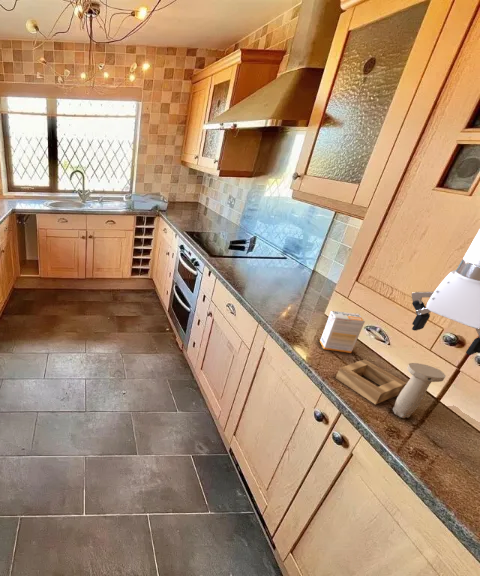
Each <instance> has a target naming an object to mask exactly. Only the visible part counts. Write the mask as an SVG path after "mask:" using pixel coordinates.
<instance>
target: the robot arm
mask: <svg viewBox="0 0 480 576" xmlns="http://www.w3.org/2000/svg"><path fill="white" fill-rule="evenodd" d="M423 298H429V299H428V301H427V303H426V304H424V301H423ZM411 301H412V303H411V304H412V307H413V308H414V310H415V314H416V316H415V318H414V319H413V321H412V323H411V325H413V326H412V328H411V330H412V331H415V332H417V331H420V330H423V329H424V328H425V326H426V323H427V322H428V321H429V319H430V317H431V314H430V313H433V314H436V315H438V316H440V317H442V318H445V319H449V320H451V321H453V322H455V323H459V324H462V325H463V326H466V327H469V328H472V329H475V331H476V333H477V335H478V337H475V338H474V339H473V341H472V342H471V343H470V345H469V346H468V348H467V350H466V352H465V353H466V354H467V355H469V356H471V355H474V354H476V353H477V354H480V228H479V229H478V231H477V233H476V235H475V236H474V238H473V240H472V242H471V244H470V245H469V246H468V248H467V250H466V252H465V254H464V255H463V258H462V259H461V261H460V263H459V264H458V266H457V268H456V269H453V270H451V271H450V272H449V273H448V274H447V275H445V277H444V279H442V281H441V282H440V283H439V285H438V286H437V287H436V289H435V290H434V291H414V292H412V293H411Z"/></svg>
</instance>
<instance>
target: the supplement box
mask: <svg viewBox="0 0 480 576" xmlns="http://www.w3.org/2000/svg"><path fill="white" fill-rule="evenodd" d="M365 323H366V319H364V318H363V316H362V315H360V314H359V313H354V312H344V311H337V310H330V312H329V315H328V317H327V321H326V323H325V327H324V328H323V332H322V335H321V337H320V340H319V343H320V345H321V347H322V349H323V350H326V351H334V352H340V353H347V354H352V352H353V350H354V348H355V346H356V343H357V341H358V338H359V336H360V334H361V331H362V330H363V327H364V324H365Z"/></svg>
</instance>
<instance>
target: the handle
mask: <svg viewBox="0 0 480 576" xmlns="http://www.w3.org/2000/svg"><path fill="white" fill-rule="evenodd" d="M406 369H407V371H408V373H409V374H410V375H411V377H410V378H409V379H408V381H407V382H406V383H407V384H406V385H405V387H404V388H403V390H402V391H401V392H400V394H399V395H397V396H396V399H395V402H394V406H393V407H392V411H393V413H394V415H395V416H398V417H399V418H402V419H405V418H410V417H411V416H412V414H413V413H415V411H416V410H417V408H419V406H420V404H421V402H422V401H423V399H424V397H425V394H426V392H427V390H428V389H429V386H430V385H431V384H432V383H439V382H443V381H444V380H445V379H446V376H447V375H446V374H445V373H444V372H443V371H442V370H440V369H438V368H437V367H434V366H432V365H428V364H423V363H419V362H409V363H408V364H407V367H406Z"/></svg>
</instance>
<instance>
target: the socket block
mask: <svg viewBox="0 0 480 576" xmlns="http://www.w3.org/2000/svg"><path fill="white" fill-rule="evenodd" d="M362 376H364V377H365V378H364V377H362ZM366 378H367V379H369V380H370V381H369V380H367V379H366ZM335 379H336V380H338V381H339V382H341V383H342V384H344V385H345V386H347V387H348V388H350V389H351V390H353V391H354V392H356V393H357V394H358V395H360V396H362V397H363V398H365V399H367V401H369V402H371V403H372V404H374V405H378V404H380V403H383V402H385V401H388V400H390V399H392V398H394V397H398V396H399V394H400V392H401V391H402V390H403V388H404V387H405V385H406V384H407V383H408V382H406V381H404V380H402V379H400V378H399V377H397V376H395V375H393V374H392V373H390V372H388V371H386V370H385V369H384V368H381V367H379V366H377V365H376V364H374V363H372V362H370V361H369V360H367V359H361V360H358V361H355V362H353V363H350V364H347V365H344V366H342V367H339V368H338V371H337V373H336V376H335ZM372 382H374V383H375V384H374V383H372ZM376 384H377V385H378V386H377V385H376Z"/></svg>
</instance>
